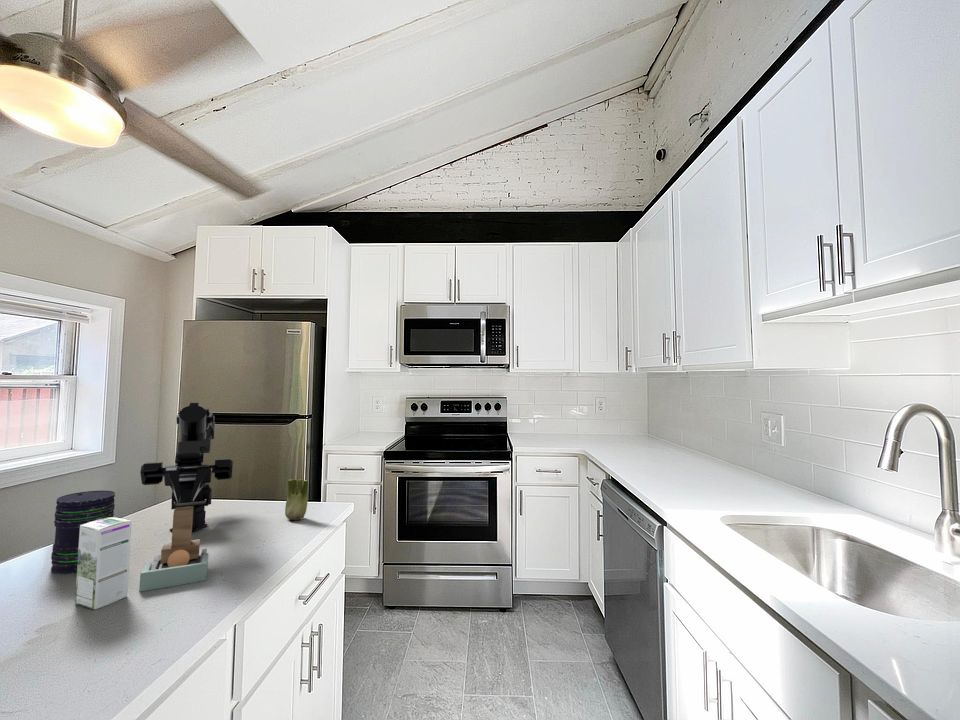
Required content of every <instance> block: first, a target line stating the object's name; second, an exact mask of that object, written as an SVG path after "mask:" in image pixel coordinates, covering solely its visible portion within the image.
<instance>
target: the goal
mask: <svg viewBox="0 0 960 720" xmlns="http://www.w3.org/2000/svg"><path fill="white" fill-rule="evenodd" d="M208 561H209V554H206V555H203V557H202V563H200V562H198V563H197V562H196V563H191V564H187V565H183V566H176V567H169V566H168V567H163V568H157V569H156V570H151V566H152V562H148V563H145V564H144V567H143V569H142V571H140V574H139V586H138V587H139V589H138V592H139V593H140V592H144V591H146V592H147V591H152V590H156V589H157V590H159V589H164V588H168V587H169V588H170V587H175V586H180V585H181V584H182V585H185V584H186V585H188V584H193V583H192V582H194V583H199V582H198V581H200V582H205V580H207V573H208V572H207V571H208ZM187 583H188V584H187Z"/></svg>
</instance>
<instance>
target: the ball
mask: <svg viewBox="0 0 960 720" xmlns="http://www.w3.org/2000/svg"><path fill="white" fill-rule="evenodd" d="M189 559H190V556H189V553H188V552H187V551H185V550H177V551H175V552H173V553H172V554H171V555H170V556H169V558H168V561H167V563H166V564H167V566H168V568H169V567H176V566H183V565H189V564H188V563H189V562H190V560H191V559H190V560H189Z"/></svg>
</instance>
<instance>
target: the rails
mask: <svg viewBox="0 0 960 720" xmlns="http://www.w3.org/2000/svg"><path fill="white" fill-rule="evenodd" d="M207 551H208V548H202V549H201V554H200V560H199V563H202V557H203V555H208V552H207ZM159 561H160V562H161V554H159V555H155V556H154V557H153V560H152V562H151V563H152V566H151V570H156V569H158V567H159V564H160V562H159Z"/></svg>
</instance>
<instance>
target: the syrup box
mask: <svg viewBox="0 0 960 720" xmlns="http://www.w3.org/2000/svg"><path fill="white" fill-rule="evenodd" d="M131 536H132V520H130V519H124V518H120V517H116V516H115V517H114V516H113V517H108V518H103V519H99V520H95V521H92V522H89V523H86V524H83V525H80V533H79V548H78V564H77V573H76V579H75V580H76V582H75V584H76V585H75V599H74V604H75V605H79V606H82V607H84V608H88V609H91V610H94V611H95V610H98V609H100V608H103V607H105V606H106V607H107V606H108V605H111V604H113V603H116V602H117V601H120V600H121V599H124V598H126V597H128V592H129V591H128V588H129V574H130V573H129V571H130V556H131V555H130V554H131V552H130V551H131V539H132V538H131Z"/></svg>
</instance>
